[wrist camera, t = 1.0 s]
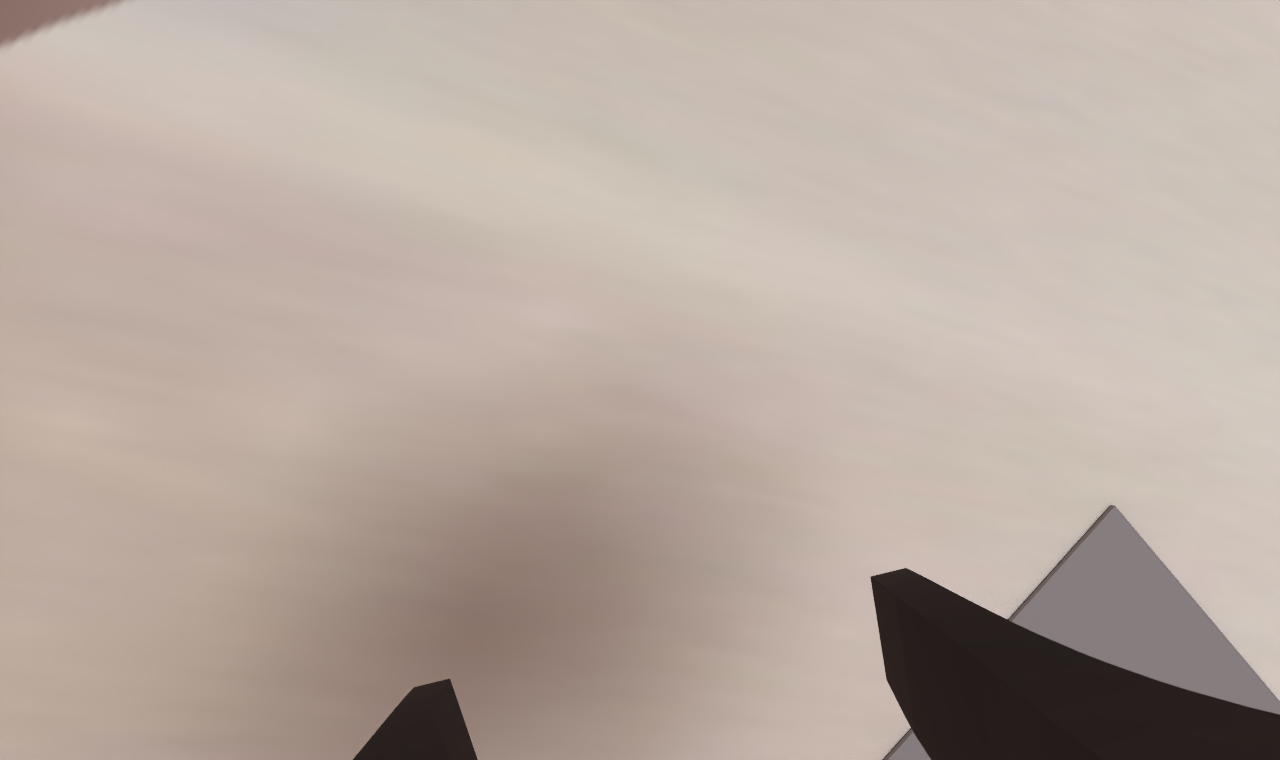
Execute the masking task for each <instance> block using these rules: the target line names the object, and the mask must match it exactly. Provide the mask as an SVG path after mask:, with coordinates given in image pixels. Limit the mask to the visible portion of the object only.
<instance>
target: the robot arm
mask: <svg viewBox="0 0 1280 760" xmlns="http://www.w3.org/2000/svg"><path fill="white" fill-rule="evenodd" d="M871 583H872V589H873V596H874V602H875V608H876V615H877V621H878V627H879V634H880V640H881V646H882V653H883V659H884V665H885V672H886V678H887V681H888V683H889V685H890V687H891V689H892V691H893V693H894V695H895V697H896V699H897V701H898V703H899V705H900V707H901V709H902V711H903V713H904V715H905V717H906V719H907V721H908V723H909V724H910V726H911V728H912V730H913V732H914V734H915V736H916V737H917V739H918V740H919V742H920V744H921V745H922V747H923V748H924V750H925V751H926V753H927V754H928V756H929V757H930V759H931V760H1280V714H1275V713H1271V712H1267V711H1263V710H1259V709H1255V708H1251V707H1247V706H1243V705H1240V704H1236V703H1233V702H1229V701H1225V700H1222V699H1218V698H1215V697H1211V696H1208V695H1204V694H1201V693H1197V692H1193V691H1190V690H1187V689H1183V688H1180V687H1177V686H1174V685H1171V684H1167V683H1164V682H1161V681H1158V680H1155V679H1152V678H1149V677H1146V676H1144V675H1141V674H1138V673H1135V672H1132V671H1129V670H1127V669H1124V668H1121V667H1118V666H1115V665H1112V664H1110V663H1107V662H1104V661H1101V660H1099V659H1096V658H1094V657H1091V656H1089V655H1086V654H1084V653H1081V652H1079V651H1076V650H1074V649H1072V648H1069V647H1067V646H1065V645H1062V644H1060V643H1058V642H1055V641H1053V640H1051V639H1048V638H1046V637H1044V636H1041V635H1039V634H1037V633H1035V632H1032V631H1030V630H1028V629H1026V628H1024V627H1022V626H1019V625H1017V624H1015V623H1013V622H1011V621H1009V620H1007V619H1005V618H1003V617H1001V616H999V615H997V614H995V613H993V612H991V611H989V610H987V609H985V608H983V607H981V606H979V605H977V604H975V603H973V602H971V601H969V600H967V599H965V598H963V597H961V596H959V595H957V594H956V593H954V592H952V591H950V590H948V589H946V588H944V587H942V586H940V585H938V584H936V583H935V582H933V581H931V580H929V579H927V578H925V577H923V576H921V575H919V574H917V573H915V572H913V571H911V570H909V569H907V568H904V569H900V570H896V571H892V572H888V573H884V574H880V575H876V576H871ZM353 760H477V757H476V754H475V751H474V748H473V745H472V742H471V739H470V736H469V733H468V730H467V727H466V725H465V722H464V719H463V716H462V713H461V710H460V707H459V704H458V701H457V698H456V695H455V692H454V689H453V686H452V683H451V681H450V679H447V680H443V681H438V682H434V683H430V684H426V685H422V686H418V687H414V688H413V689H412V690H411V691H410V692H409V693H408V695H407V696H406V697H405V698H404V699H403V700H402V701H401V702H400V704H399V705H398V706H397V707H396V708H395V709H394V711H393V712H392V713H391V714H390V715H389V717H388V718H387V719H386V720H385V722H384V723H383V724H382V725H381V726H380V728H379V729H378V730H377V731H376V732H375V734H374V735H373V736H372V737H371V739H370V740H369V741H368V742H367V743H366V745H365V746H364V747H363V748H362V749H361V750H360V752H359V753H358V754H357V755H356V756H355V758H354V759H353Z"/></svg>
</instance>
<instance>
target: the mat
mask: <svg viewBox="0 0 1280 760" xmlns="http://www.w3.org/2000/svg"><path fill="white" fill-rule="evenodd" d="M1009 621H1011V622H1013V623H1015V624H1017V625H1019V626H1022V627H1024V628H1026V629H1028V630H1030V631H1032V632H1035V633H1037V634H1039V635H1041V636H1044V637H1046V638H1048V639H1051V640H1053V641H1055V642H1058V643H1060V644H1062V645H1065V646H1067V647H1069V648H1072V649H1074V650H1076V651H1079V652H1081V653H1084V654H1086V655H1089V656H1091V657H1094V658H1096V659H1099V660H1101V661H1104V662H1107V663H1110V664H1112V665H1115V666H1118V667H1121V668H1124V669H1127V670H1129V671H1132V672H1135V673H1138V674H1141V675H1144V676H1146V677H1149V678H1152V679H1155V680H1158V681H1161V682H1164V683H1167V684H1171V685H1174V686H1177V687H1180V688H1183V689H1187V690H1190V691H1193V692H1197V693H1201V694H1204V695H1208V696H1211V697H1215V698H1218V699H1222V700H1225V701H1229V702H1233V703H1236V704H1240V705H1243V706H1247V707H1251V708H1255V709H1259V710H1263V711H1267V712H1271V713H1275V714H1280V701H1279V700H1278V699H1277V698H1276V696H1275V695H1274V694H1273V693H1272V692H1271V690H1270V689H1269V688H1268V687H1267V686H1266V684H1265V683H1264V682H1263V681H1262V680H1261V679H1260V677H1259V676H1258V675H1257V674H1256V673H1255V671H1254V670H1253V669H1252V668H1251V667H1250V665H1249V664H1248V663H1247V662H1246V661H1245V660H1244V658H1243V657H1242V656H1241V655H1240V654H1239V652H1238V651H1237V650H1236V649H1235V648H1234V646H1233V645H1232V644H1231V643H1230V642H1229V641H1228V639H1227V638H1226V637H1225V636H1224V635H1223V633H1222V632H1221V631H1220V630H1219V629H1218V628H1217V626H1216V625H1215V624H1214V623H1213V622H1212V620H1211V619H1210V618H1209V617H1208V616H1207V614H1206V613H1205V612H1204V611H1203V610H1202V609H1201V607H1200V606H1199V605H1198V604H1197V603H1196V601H1195V600H1194V599H1193V598H1192V597H1191V595H1190V594H1189V593H1188V592H1187V591H1186V590H1185V588H1184V587H1183V586H1182V585H1181V584H1180V582H1179V581H1178V580H1177V579H1176V578H1175V576H1174V575H1173V574H1172V573H1171V572H1170V571H1169V569H1168V568H1167V567H1166V566H1165V565H1164V563H1163V562H1162V561H1161V560H1160V559H1159V557H1158V556H1157V555H1156V554H1155V553H1154V552H1153V550H1152V549H1151V548H1150V547H1149V546H1148V544H1147V543H1146V542H1145V541H1144V540H1143V538H1142V537H1141V536H1140V535H1139V534H1138V533H1137V531H1136V530H1135V529H1134V528H1133V527H1132V525H1131V524H1130V523H1129V522H1128V521H1127V520H1126V518H1125V517H1124V516H1123V515H1122V514H1121V512H1120V511H1119V510H1118V509H1117V508H1116V506H1113V505H1111V506H1110V507H1109V508H1108V509H1107V510H1106V512H1105V513H1104V514H1103V515H1102V516H1101V517H1100V518H1099V519H1098V520H1097V522H1096V523H1095V524H1094V525H1093V526H1092V527H1091V528H1090V529H1089V531H1088V532H1087V533H1086V534H1085V535H1084V536H1083V537H1082V538H1081V539H1080V541H1079V542H1078V543H1077V544H1076V545H1075V546H1074V547H1073V548H1072V550H1071V551H1070V552H1069V553H1068V554H1067V555H1066V556H1065V557H1064V558H1063V560H1062V561H1061V562H1060V563H1059V564H1058V565H1057V566H1056V567H1055V569H1054V570H1053V571H1052V572H1051V573H1050V574H1049V575H1048V576H1047V578H1046V579H1045V580H1044V581H1043V582H1042V583H1041V584H1040V585H1039V586H1038V588H1037V589H1036V590H1035V591H1034V592H1033V593H1032V594H1031V595H1030V597H1029V598H1028V599H1027V600H1026V601H1025V602H1024V603H1023V604H1022V605H1021V607H1020V608H1019V609H1018V610H1017V611H1016V612H1015V613H1014V614H1013V616H1012V617H1011V618H1010V619H1009ZM884 760H931V759H930V757H929V756H928V754H927V753H926V751H925V750H924V748H923V747H922V745H921V744H920V742H919V740H918V739H917V737H916V736H915V734H914V732H913V730H912V729H911V730H910V731H909V732H908V733H907V734H906V735H905V736H904V737H903V739H902V740H901V741H900V742H899V743H898V744H897V745H896V746H895V748H894V749H893V750H892V751H891V752H890V753H889V754H888V755H887V756H886V758H885V759H884Z"/></svg>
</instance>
